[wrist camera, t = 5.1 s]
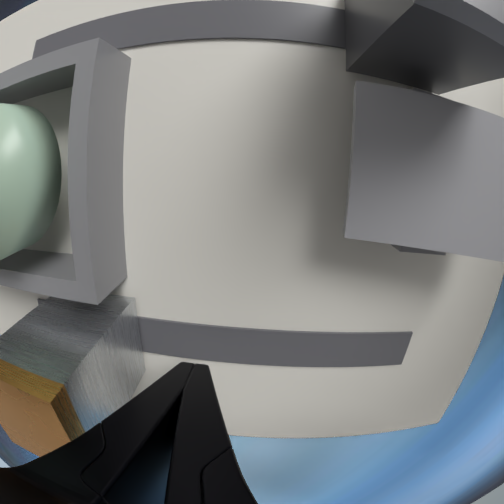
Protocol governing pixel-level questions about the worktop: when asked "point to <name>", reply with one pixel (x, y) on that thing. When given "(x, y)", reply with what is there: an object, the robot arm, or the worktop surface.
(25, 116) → the button green
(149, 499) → the robot arm
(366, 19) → the slider grey
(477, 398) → the worktop surface
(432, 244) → the rocker grey
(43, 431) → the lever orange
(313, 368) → the panel
